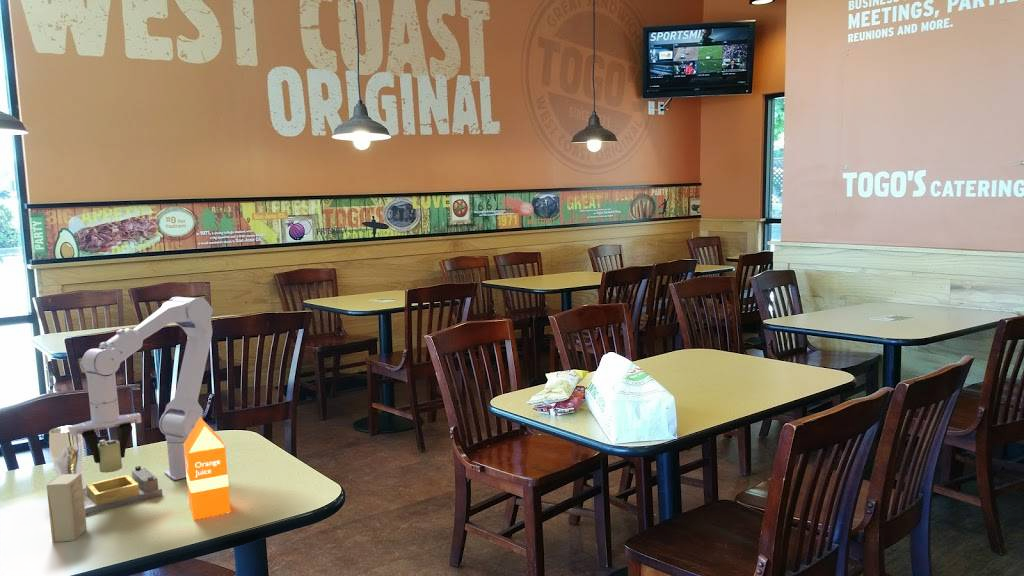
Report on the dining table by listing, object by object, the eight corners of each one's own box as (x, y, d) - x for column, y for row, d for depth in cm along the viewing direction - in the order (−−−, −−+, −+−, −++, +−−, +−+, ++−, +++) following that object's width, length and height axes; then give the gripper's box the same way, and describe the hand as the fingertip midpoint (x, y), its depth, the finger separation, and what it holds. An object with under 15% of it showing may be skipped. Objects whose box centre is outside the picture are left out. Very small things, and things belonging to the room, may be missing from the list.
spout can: (118, 464, 186) (115, 434, 185) (125, 468, 182) (122, 438, 181) (96, 469, 182) (93, 439, 181) (103, 474, 179) (100, 443, 178)
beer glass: (73, 496, 186) (66, 433, 185) (47, 495, 188) (40, 433, 186) (94, 485, 193) (88, 425, 191) (69, 484, 195) (63, 424, 193)
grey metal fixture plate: (147, 482, 194) (145, 464, 193) (162, 495, 185) (160, 476, 184) (64, 502, 182) (62, 483, 182) (75, 517, 173) (73, 497, 173)
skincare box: (66, 530, 167) (59, 473, 165) (88, 528, 167) (82, 472, 166) (51, 543, 160) (44, 484, 159) (74, 541, 161) (68, 483, 159)
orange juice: (192, 520, 169) (184, 428, 167) (188, 507, 177) (180, 419, 175) (231, 512, 173) (224, 422, 170) (225, 499, 180) (218, 413, 178)
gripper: (71, 410, 173) (78, 471, 175) (142, 398, 182) (148, 455, 184) (65, 405, 179) (71, 463, 180) (134, 393, 188) (139, 449, 189)
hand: (109, 459), depth 182 cm, fingers closed on spout can, 5 cm apart
